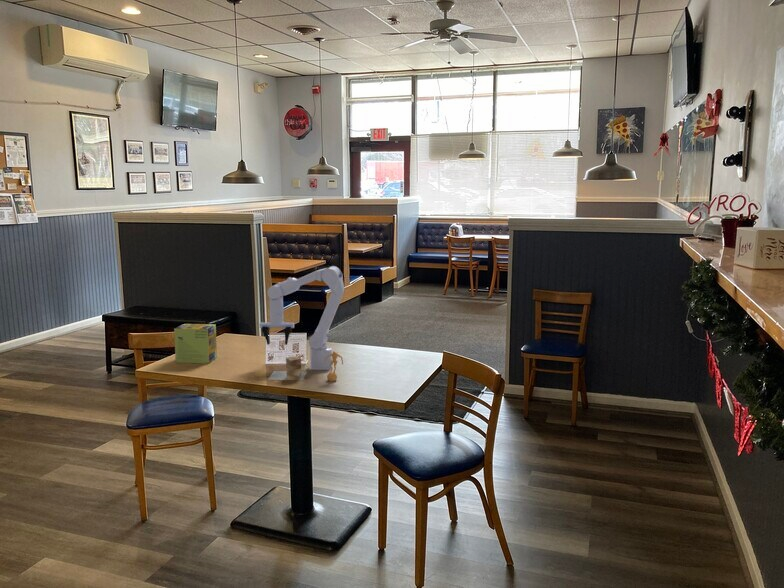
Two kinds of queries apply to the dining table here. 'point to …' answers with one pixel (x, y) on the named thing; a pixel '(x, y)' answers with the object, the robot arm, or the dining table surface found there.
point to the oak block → (293, 374)
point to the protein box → (195, 343)
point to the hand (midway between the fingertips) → (277, 344)
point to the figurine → (332, 375)
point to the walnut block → (293, 363)
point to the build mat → (284, 375)
